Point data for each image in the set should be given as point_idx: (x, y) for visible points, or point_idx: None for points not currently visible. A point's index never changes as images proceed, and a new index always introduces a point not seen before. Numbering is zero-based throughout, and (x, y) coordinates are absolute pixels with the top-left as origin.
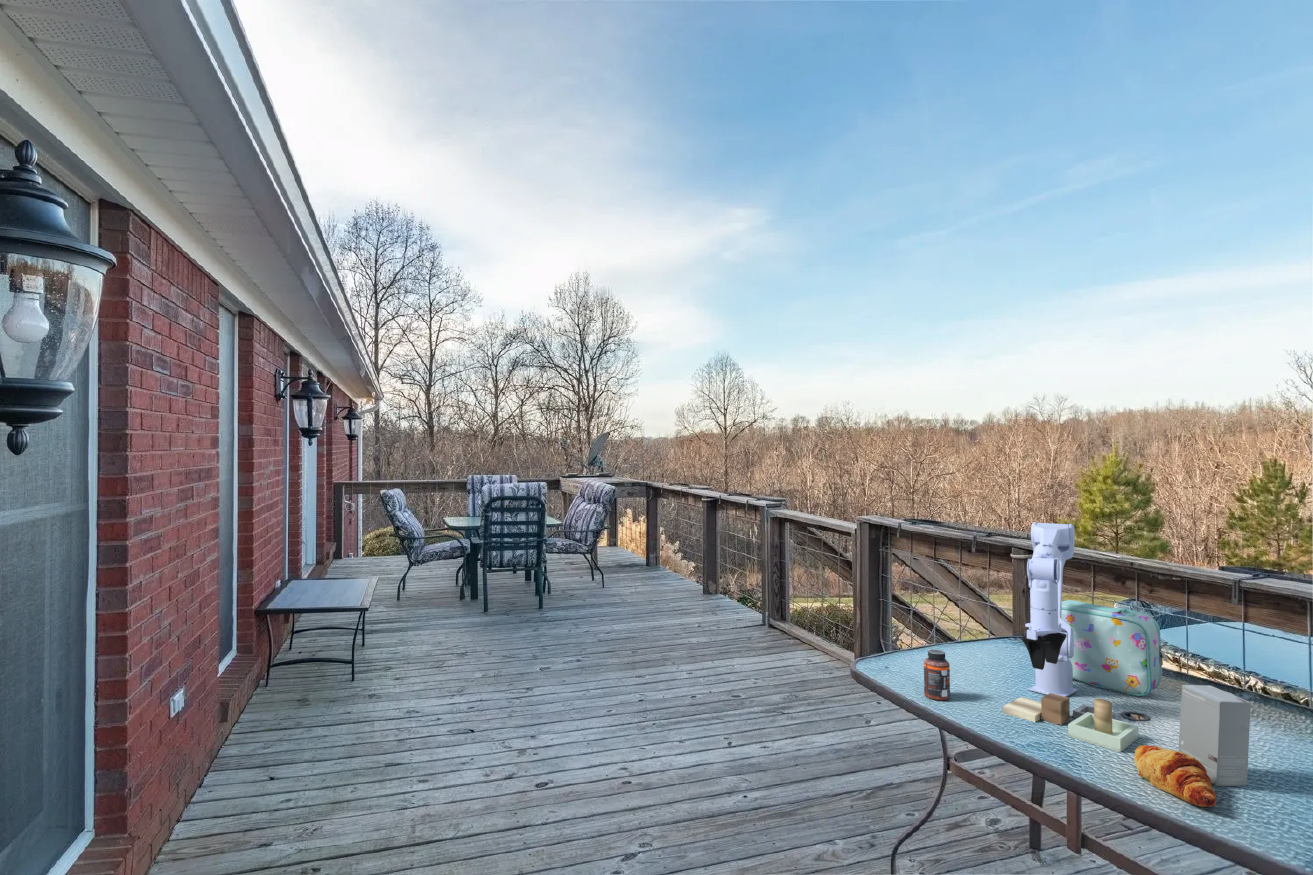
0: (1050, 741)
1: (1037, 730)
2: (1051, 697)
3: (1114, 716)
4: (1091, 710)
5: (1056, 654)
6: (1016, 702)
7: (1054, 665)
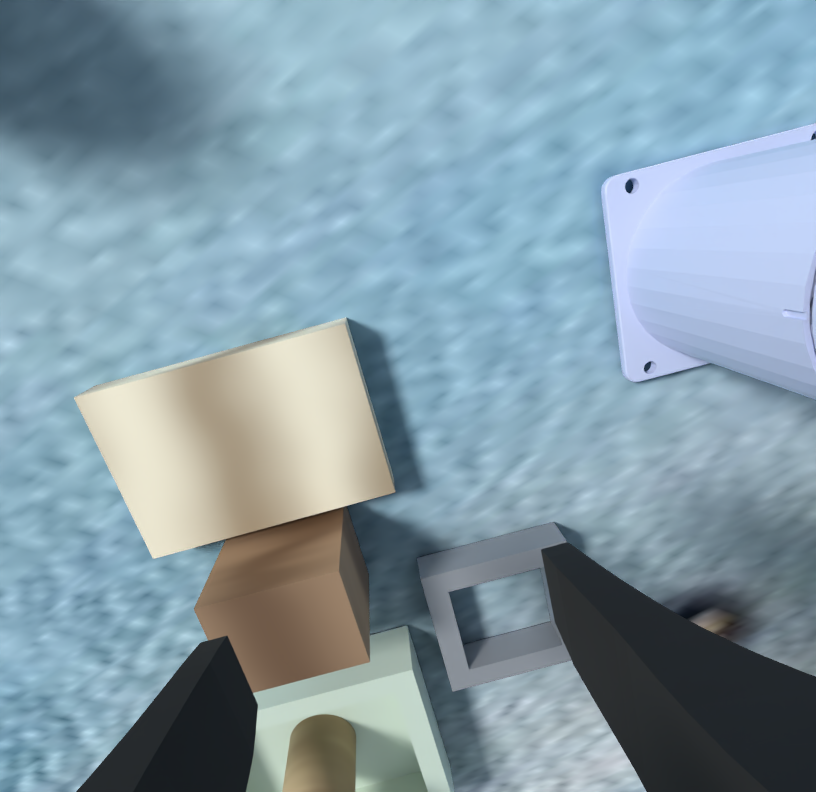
0: (50, 694)
1: (92, 604)
2: (267, 624)
3: None
4: (545, 576)
5: (606, 715)
6: (222, 383)
7: (788, 375)
